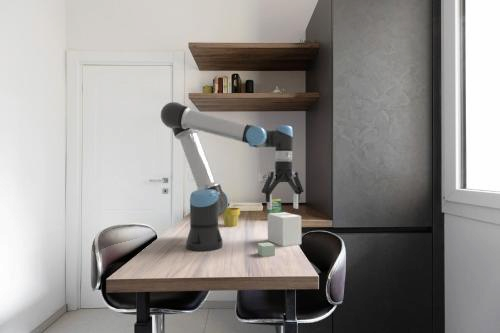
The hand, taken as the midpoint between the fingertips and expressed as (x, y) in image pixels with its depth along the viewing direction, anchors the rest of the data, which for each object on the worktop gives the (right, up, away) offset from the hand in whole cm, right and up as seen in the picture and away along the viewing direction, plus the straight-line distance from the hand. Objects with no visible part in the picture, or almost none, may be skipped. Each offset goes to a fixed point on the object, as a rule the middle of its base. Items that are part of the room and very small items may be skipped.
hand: (282, 209), depth 144 cm
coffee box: (+1, -15, +59) cm, 61 cm away
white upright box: (+1, -15, 0) cm, 15 cm away
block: (-8, -15, -20) cm, 26 cm away
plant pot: (-25, -15, +40) cm, 49 cm away
